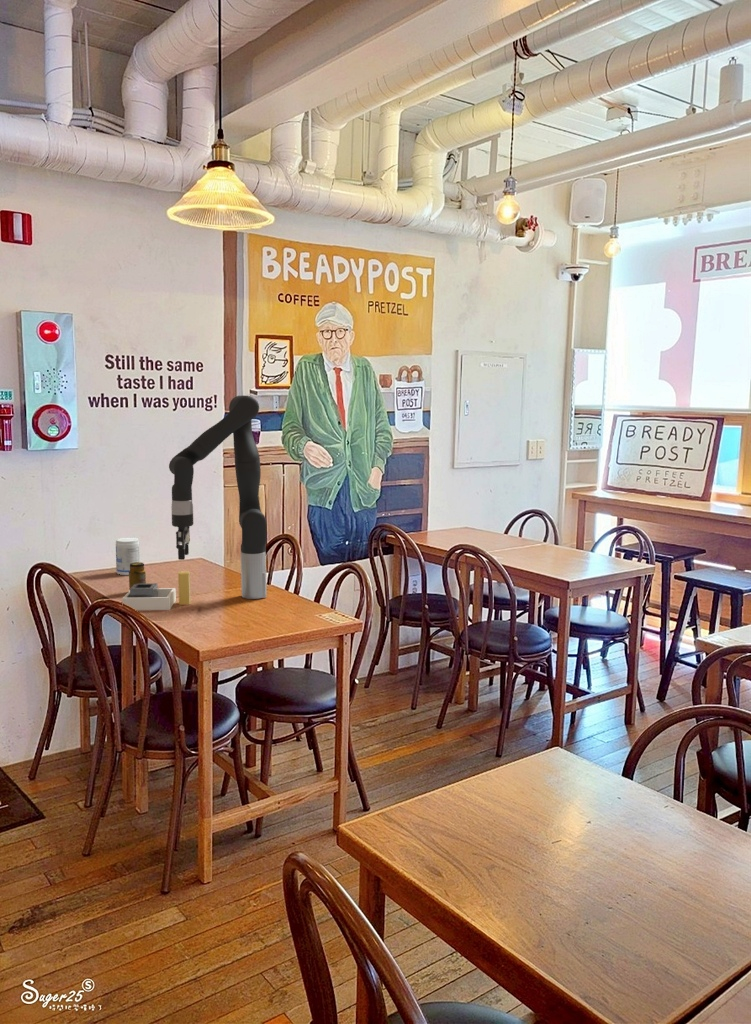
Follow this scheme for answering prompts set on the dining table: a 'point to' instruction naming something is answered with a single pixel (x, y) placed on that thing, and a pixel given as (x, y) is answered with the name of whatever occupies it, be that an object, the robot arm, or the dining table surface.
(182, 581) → the plug
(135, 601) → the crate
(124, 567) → the supplement tub
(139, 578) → the condiment
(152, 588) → the socket
